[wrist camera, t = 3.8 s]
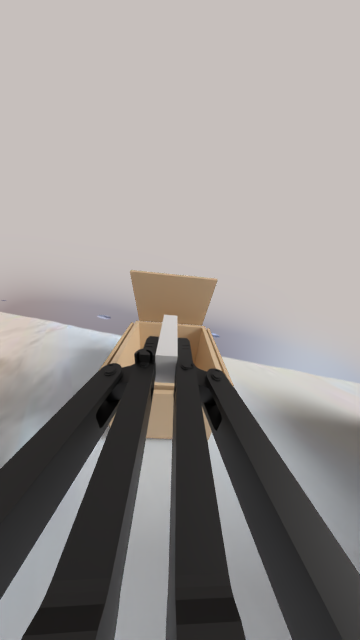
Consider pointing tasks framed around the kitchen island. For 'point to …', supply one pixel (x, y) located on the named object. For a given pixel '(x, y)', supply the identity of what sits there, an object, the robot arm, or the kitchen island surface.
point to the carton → (162, 402)
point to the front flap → (172, 296)
